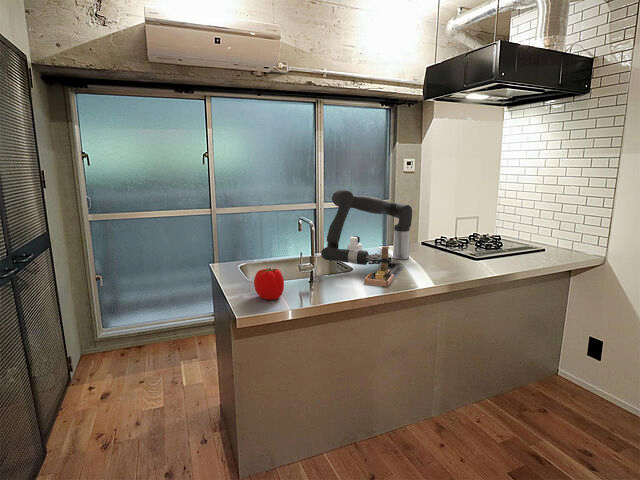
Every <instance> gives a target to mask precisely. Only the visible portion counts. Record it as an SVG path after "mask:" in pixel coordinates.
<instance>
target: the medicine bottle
mask: <svg viewBox="0 0 640 480" xmlns="http://www.w3.org/2000/svg"><path fill="white" fill-rule="evenodd" d="M346 247H347V248H346V249H348V250H363V243H361V238H360V236H357V235H353V236H350V238H349V243H348V244H347V246H346Z"/></svg>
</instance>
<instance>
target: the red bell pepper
mask: <svg viewBox="0 0 640 480" xmlns="http://www.w3.org/2000/svg"><path fill="white" fill-rule="evenodd" d="M253 279H254V280H253V286H254V289H255V292H256V294H257V295H258V296H259V297H260V298H261V299H263V300H267V301H269V300H270V301H271V300H273V299H274V300H277V299H280V297H281V296H282V295H283V292H284V290H285V281H284V280H285V279H284V276H283V274H282V272H281V270H280V269H278V268H268V267H267V268H262V269H260V270H258V271H257V272H256V273H255V276H254V278H253Z"/></svg>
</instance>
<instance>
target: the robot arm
mask: <svg viewBox="0 0 640 480" xmlns="http://www.w3.org/2000/svg"><path fill="white" fill-rule="evenodd" d="M331 201H332V203H333V204H334V206H336V207H338V209H337V211H336V213H335V216H334V219H332V222H331V224H330V226H329V228H328V232H327V236H326V242H327V245H326V247H324V248H323V249H322V250H321V251H320V256H321V258H322V259H323V260H326V261H328V262H332V261H335V262H341V263H347V264H354V265H359V266H360V265H361V266H366V265H367V264H368V265H381V263H388V264H389V263H392V258H393V259H395V260H407V259H409V258H410V250H411V249H410V247H411V242H410V229H411V225H412V221H413V208H412V206H411V205H409V204H405V203H401V202H400V203H398V202H389V201H386V200H384V199H382V198H379V197H374V196H369V195H368V196H367V195H354V194H353V192H352V191H350V190H348V189H344V190H343V189H342V190H339V189H338V190H337V191H335V192H334V193H333V194H332V197H331ZM351 209H355V210H359V211H362V212H366V213H369V214H374V215H387V216H390V217H393V218H396V219H398V223H397V224H394V227H393V248H392V249H393V250H392V257H389V256H388V259H382V254H378V253H371V254H369V252H368V251H367V250H363V249H362V250H348V249H347V248H339V246H340V245H339V243H340V239H341V235H342V231H343V229H344V225H345V221H346V220H347V217H348V214H349V213H350V210H351Z"/></svg>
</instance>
